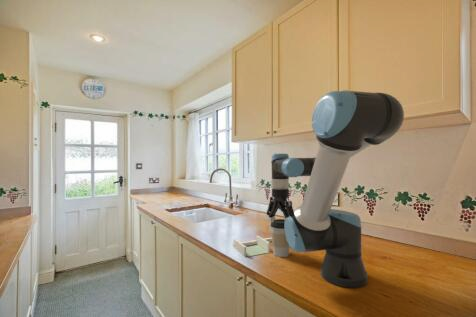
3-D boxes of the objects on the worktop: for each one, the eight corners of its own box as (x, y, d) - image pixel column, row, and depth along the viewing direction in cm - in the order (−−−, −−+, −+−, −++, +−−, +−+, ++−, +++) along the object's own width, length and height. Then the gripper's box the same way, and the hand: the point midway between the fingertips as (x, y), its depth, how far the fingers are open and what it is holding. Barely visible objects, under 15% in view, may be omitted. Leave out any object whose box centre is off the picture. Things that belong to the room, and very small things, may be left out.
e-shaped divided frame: (291, 247, 114) (291, 239, 114) (244, 256, 104) (244, 247, 104) (276, 239, 126) (276, 231, 126) (232, 246, 116) (232, 238, 116)
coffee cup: (268, 255, 104) (267, 221, 104) (274, 248, 112) (274, 217, 112) (288, 259, 100) (287, 223, 100) (293, 252, 108) (293, 218, 108)
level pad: (268, 252, 107) (268, 252, 107) (247, 256, 103) (247, 256, 103) (258, 245, 117) (258, 245, 117) (238, 249, 112) (238, 248, 112)
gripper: (305, 191, 96) (305, 243, 96) (272, 184, 119) (272, 227, 119) (290, 192, 93) (290, 246, 93) (259, 185, 116) (259, 229, 116)
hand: (280, 235), depth 106 cm, fingers open, 13 cm apart
